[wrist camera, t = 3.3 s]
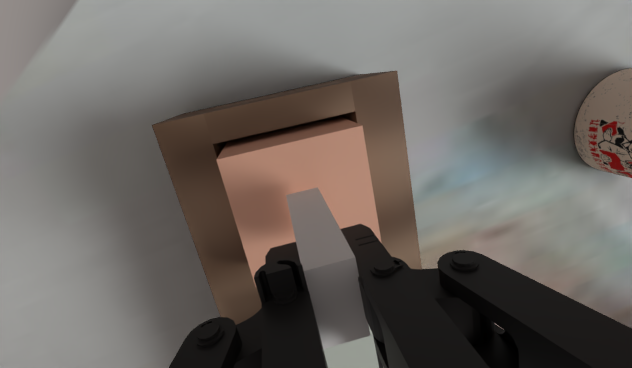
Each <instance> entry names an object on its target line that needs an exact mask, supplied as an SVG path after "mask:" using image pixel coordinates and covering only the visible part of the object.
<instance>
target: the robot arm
mask: <svg viewBox="0 0 632 368" xmlns="http://www.w3.org/2000/svg"><path fill="white" fill-rule="evenodd" d="M286 198H287V202H288V207H289V212H290V216H291V221H292V226H293V230H294V235H295V239H296V242H292V243H288V244H285V245H281V246H277V247H273V248H270V250H269V251H268V253H267V255H266V256H265V265H263V266H261V267H260V268H259V269H258V270H257V271H256V273H255V275H254V281H255V284H256V287H257V290H258V294H259V297H260V300H261V306H262V308H261V309H260V310H259V311H258V312H257V313H256V314H255V315H253V316H252V317H250V318H248V319H247V320H245V321H243V322H241V323H239V324H237V325H236V324H235V322H234V320H232V319H230V318H228V317H218V318H214V319H210V320H208V321H206V322H204V323H202V324H200V325H199V326H197V327H196V328H195V329H193V330H192V331H191V332H190V334H189V335H188V336H187V337H186V339H185V340H184V342H183V344H182V346H181V347H180V349H179V351H178V352H177V354H176V356H175V358H174V359H173V361H172V363H171V365H170V366H169V368H328V366H327V362H326V358H325V354H324V350H323V349H326V348H329V347H333V346H336V345H340V344H343V343H346V342H350V341H353V340H357V339H360V338H364V337H367V336H370V331H369V327H370V329H371V331H372V333H373V338H374V343H375V348H376V354H377V359H378V364H379V368H383V367H384V368H632V329H631V328H629V327H627V326H625V325H623V324H621V323H619V322H617V321H615V320H613V319H611V318H609V317H607V316H605V315H603V314H601V313H599V312H597V311H595V310H593V309H591V308H589V307H587V306H585V305H583V304H581V303H579V302H577V301H575V300H573V299H571V298H569V297H567V296H565V295H563V294H561V293H559V292H557V291H555V290H553V289H551V288H549V287H547V286H545V285H543V284H541V283H539V282H537V281H535V280H533V279H531V278H529V277H526V276H524V275H522V274H520V273H518V272H516V271H514V270H512V269H510V268H508V267H506V266H504V265H502V264H500V263H498V262H496V261H494V260H492V259H490V258H488V257H486V256H484V255H482V254H479V253H476V252H473V251H465V250H459V251H453V252H449V253H446V254H444V255H443V256H442V257H440V259H439V261H438V268H436V269H411V268H410V267H409V266H408V265H407V264H406V263H405V262H404V261H403V260H401V259H399V258H395V257H392V256H391V255H390V254H389V252H388V251H387V250H386V248H385V247H384V246H383V244H382V243H381V242H380V241H379V239H378V238H377V236H375V234H374V232H373V231H372V230H371V228H369V227H367V226H365V225H363V224H357V225H354V226H350V227H346V228H342V229H340V228H339V226H338V224H337V222H336V220H335V218H334V217H333V215H332V213H331V211H330V209H329V207H328V205H327V204H326V202H325V200H324V198H323V196H322V194H321V192H320V191H319V189H318V187H317V188H313V189H309V190H305V191H300V192H296V193H292V194H288V195H286ZM494 323H496V324H497V325H499V326H500V327H502V328H503V329H504V330H503V329H501V328H499V327H498V326H497V325H495V324H494ZM368 324H369V325H368Z"/></svg>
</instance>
